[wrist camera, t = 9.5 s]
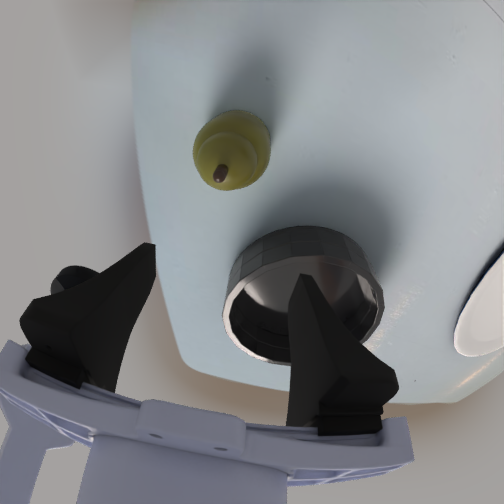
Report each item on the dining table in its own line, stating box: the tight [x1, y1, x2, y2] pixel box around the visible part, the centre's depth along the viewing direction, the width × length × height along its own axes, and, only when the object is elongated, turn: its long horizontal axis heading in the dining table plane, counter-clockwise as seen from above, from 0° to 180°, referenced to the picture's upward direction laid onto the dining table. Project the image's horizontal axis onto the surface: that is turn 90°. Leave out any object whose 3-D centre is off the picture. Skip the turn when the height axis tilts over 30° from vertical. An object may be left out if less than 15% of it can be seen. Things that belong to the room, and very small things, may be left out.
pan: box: [222, 226, 385, 366], centre depth 24 cm, size 13×13×4 cm
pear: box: [193, 110, 271, 191], centre depth 15 cm, size 5×5×7 cm
